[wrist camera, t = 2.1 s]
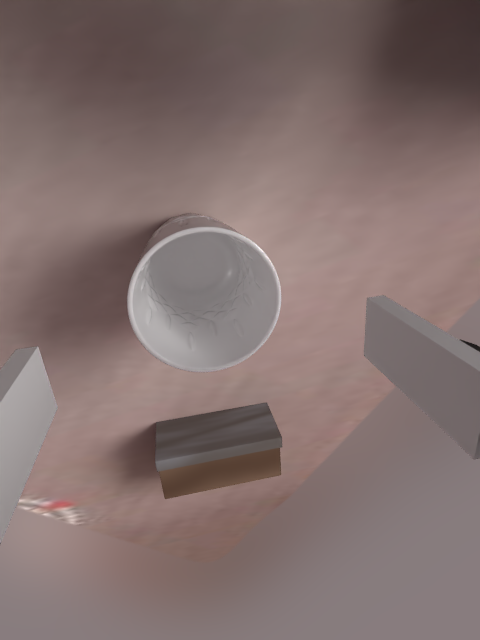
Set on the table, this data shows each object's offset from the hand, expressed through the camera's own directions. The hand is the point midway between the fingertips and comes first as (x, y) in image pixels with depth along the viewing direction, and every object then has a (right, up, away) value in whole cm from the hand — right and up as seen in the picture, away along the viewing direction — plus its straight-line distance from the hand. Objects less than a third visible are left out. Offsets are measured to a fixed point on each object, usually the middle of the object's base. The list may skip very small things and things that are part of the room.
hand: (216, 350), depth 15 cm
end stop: (-1, -9, +20) cm, 22 cm away
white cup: (-3, +6, +13) cm, 15 cm away
